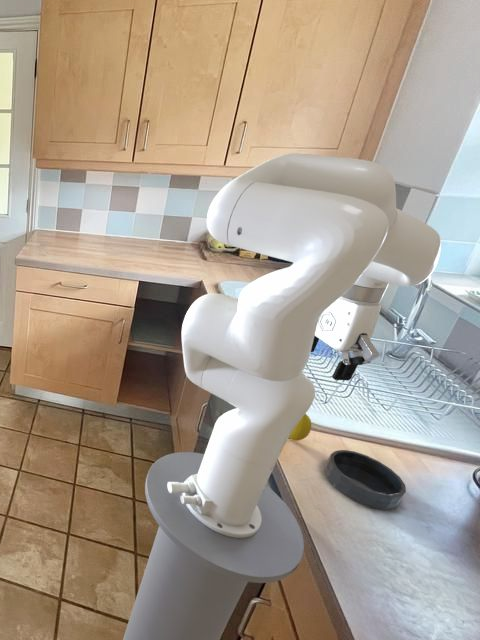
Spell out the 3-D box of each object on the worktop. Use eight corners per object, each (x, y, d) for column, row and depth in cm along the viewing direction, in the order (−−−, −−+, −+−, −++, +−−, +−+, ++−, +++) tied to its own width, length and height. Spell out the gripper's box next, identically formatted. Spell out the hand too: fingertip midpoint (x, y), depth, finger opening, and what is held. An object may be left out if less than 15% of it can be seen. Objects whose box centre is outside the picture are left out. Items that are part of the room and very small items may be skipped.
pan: (354, 509, 78) (362, 496, 76) (310, 461, 88) (316, 448, 86) (414, 511, 77) (423, 498, 76) (363, 462, 88) (370, 450, 86)
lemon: (274, 426, 97) (285, 399, 94) (303, 436, 94) (316, 409, 91) (273, 440, 93) (285, 412, 90) (303, 452, 90) (317, 423, 87)
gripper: (303, 271, 86) (276, 341, 93) (376, 310, 70) (336, 391, 77) (339, 272, 86) (309, 342, 93) (420, 311, 70) (377, 392, 77)
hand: (321, 364), depth 85 cm, fingers open, 9 cm apart
